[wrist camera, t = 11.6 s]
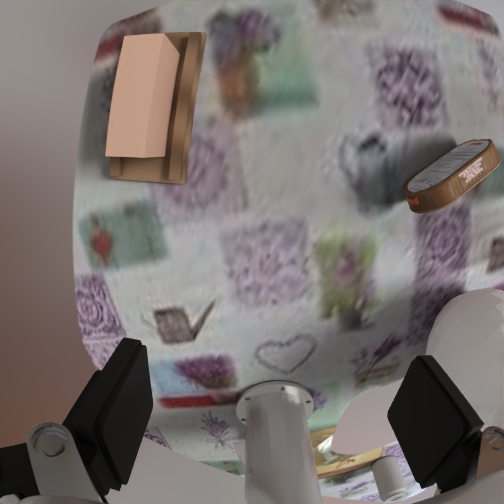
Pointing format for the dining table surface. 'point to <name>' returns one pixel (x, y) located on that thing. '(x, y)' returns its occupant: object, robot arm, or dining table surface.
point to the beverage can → (389, 479)
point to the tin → (451, 176)
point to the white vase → (473, 349)
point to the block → (142, 97)
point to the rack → (171, 120)
